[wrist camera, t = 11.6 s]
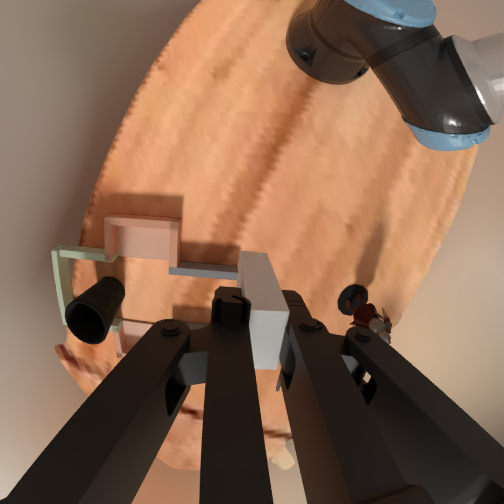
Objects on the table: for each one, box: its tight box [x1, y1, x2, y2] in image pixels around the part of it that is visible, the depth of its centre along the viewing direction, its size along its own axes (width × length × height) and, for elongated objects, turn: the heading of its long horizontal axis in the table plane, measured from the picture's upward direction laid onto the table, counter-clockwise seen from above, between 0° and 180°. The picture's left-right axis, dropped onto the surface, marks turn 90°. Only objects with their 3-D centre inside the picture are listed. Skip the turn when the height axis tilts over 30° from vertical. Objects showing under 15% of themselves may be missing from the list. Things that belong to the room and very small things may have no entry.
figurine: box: [338, 284, 392, 344], centre depth 43 cm, size 7×7×15 cm
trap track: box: [52, 214, 238, 358], centre depth 44 cm, size 33×28×4 cm
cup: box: [65, 277, 125, 344], centre depth 40 cm, size 8×8×12 cm
